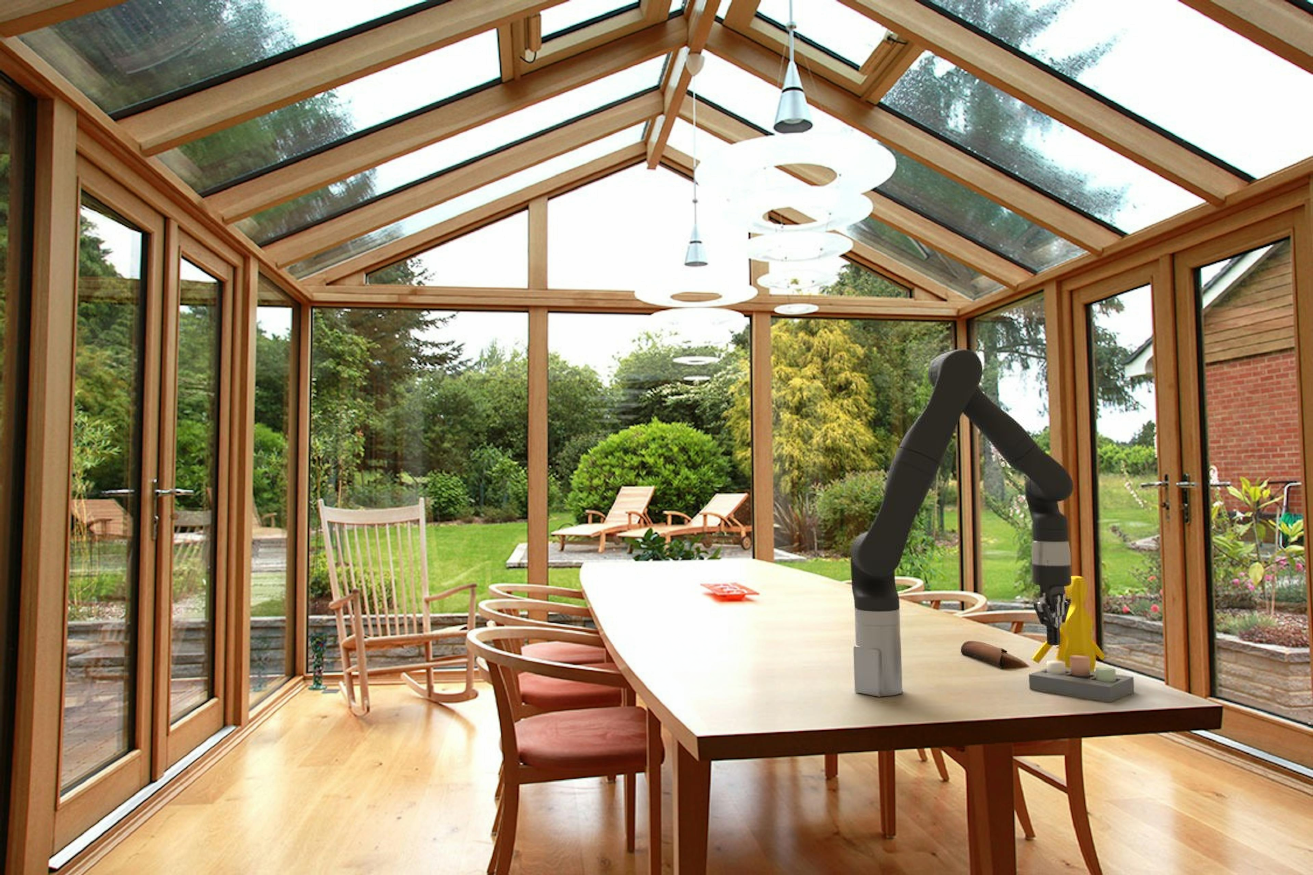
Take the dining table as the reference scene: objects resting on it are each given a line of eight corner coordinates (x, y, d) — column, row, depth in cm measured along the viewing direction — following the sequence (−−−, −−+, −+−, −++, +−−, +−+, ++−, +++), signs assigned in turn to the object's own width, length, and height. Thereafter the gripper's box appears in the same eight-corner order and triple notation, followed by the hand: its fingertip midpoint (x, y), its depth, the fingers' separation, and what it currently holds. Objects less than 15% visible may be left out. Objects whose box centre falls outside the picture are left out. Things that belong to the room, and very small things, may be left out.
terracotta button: (1085, 676, 176) (1084, 659, 176) (1067, 674, 178) (1067, 657, 179) (1093, 673, 178) (1092, 656, 178) (1075, 671, 181) (1074, 654, 181)
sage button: (1112, 689, 172) (1111, 671, 172) (1093, 686, 175) (1092, 669, 175) (1119, 686, 174) (1118, 668, 174) (1100, 683, 177) (1099, 666, 177)
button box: (1110, 702, 168) (1109, 686, 168) (1029, 688, 180) (1028, 674, 180) (1134, 691, 176) (1133, 676, 176) (1055, 679, 188) (1054, 665, 188)
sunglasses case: (1033, 666, 201) (1018, 642, 200) (1010, 683, 199) (995, 659, 199) (990, 652, 218) (977, 630, 218) (969, 668, 217) (955, 645, 217)
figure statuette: (1098, 668, 198) (1094, 572, 199) (1122, 675, 190) (1117, 575, 191) (1027, 672, 195) (1023, 574, 196) (1048, 680, 187) (1043, 578, 188)
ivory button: (1061, 681, 179) (1060, 664, 180) (1044, 678, 182) (1043, 662, 182) (1068, 678, 182) (1068, 661, 182) (1051, 676, 184) (1051, 659, 185)
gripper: (1055, 565, 176) (1057, 651, 175) (1082, 561, 185) (1085, 643, 184) (1019, 563, 182) (1021, 646, 181) (1047, 559, 190) (1050, 638, 190)
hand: (1053, 644), depth 182 cm, fingers closed
